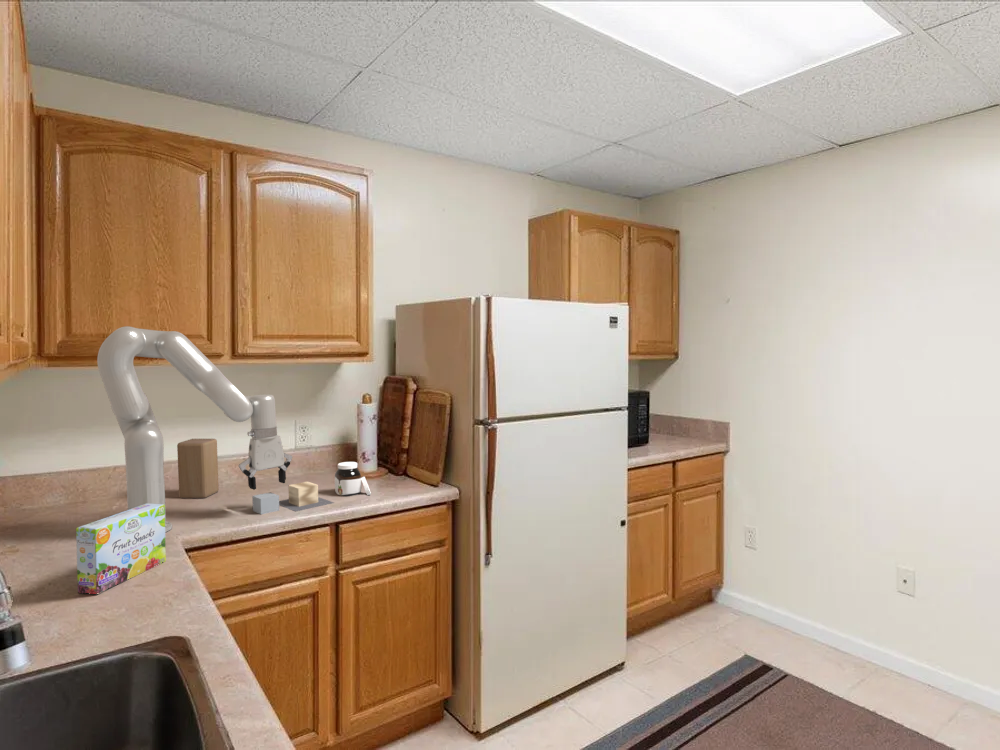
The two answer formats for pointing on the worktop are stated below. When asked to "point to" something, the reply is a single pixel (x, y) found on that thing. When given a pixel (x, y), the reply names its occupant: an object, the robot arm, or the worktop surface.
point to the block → (197, 468)
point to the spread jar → (349, 480)
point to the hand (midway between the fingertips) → (267, 485)
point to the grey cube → (265, 503)
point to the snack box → (120, 547)
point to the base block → (303, 493)
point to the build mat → (297, 508)
